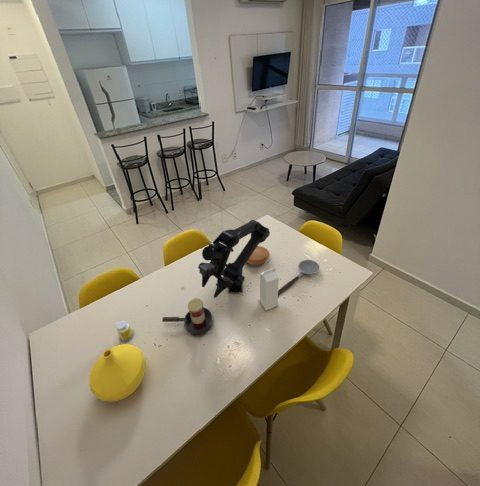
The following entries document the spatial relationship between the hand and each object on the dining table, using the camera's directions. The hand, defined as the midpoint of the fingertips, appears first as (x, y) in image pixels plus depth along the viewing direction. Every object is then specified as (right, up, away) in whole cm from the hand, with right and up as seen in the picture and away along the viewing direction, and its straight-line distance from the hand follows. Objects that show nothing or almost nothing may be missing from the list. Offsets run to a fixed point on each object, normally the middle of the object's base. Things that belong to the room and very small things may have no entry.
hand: (208, 292), depth 113 cm
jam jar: (-4, -14, 0) cm, 14 cm away
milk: (+27, -8, +8) cm, 29 cm away
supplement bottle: (-35, -18, -3) cm, 39 cm away
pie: (+23, +10, +34) cm, 42 cm away
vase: (-29, -28, -18) cm, 44 cm away
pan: (-4, -14, +1) cm, 15 cm away
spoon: (+42, +1, +19) cm, 46 cm away
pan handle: (-15, -12, 0) cm, 20 cm away
